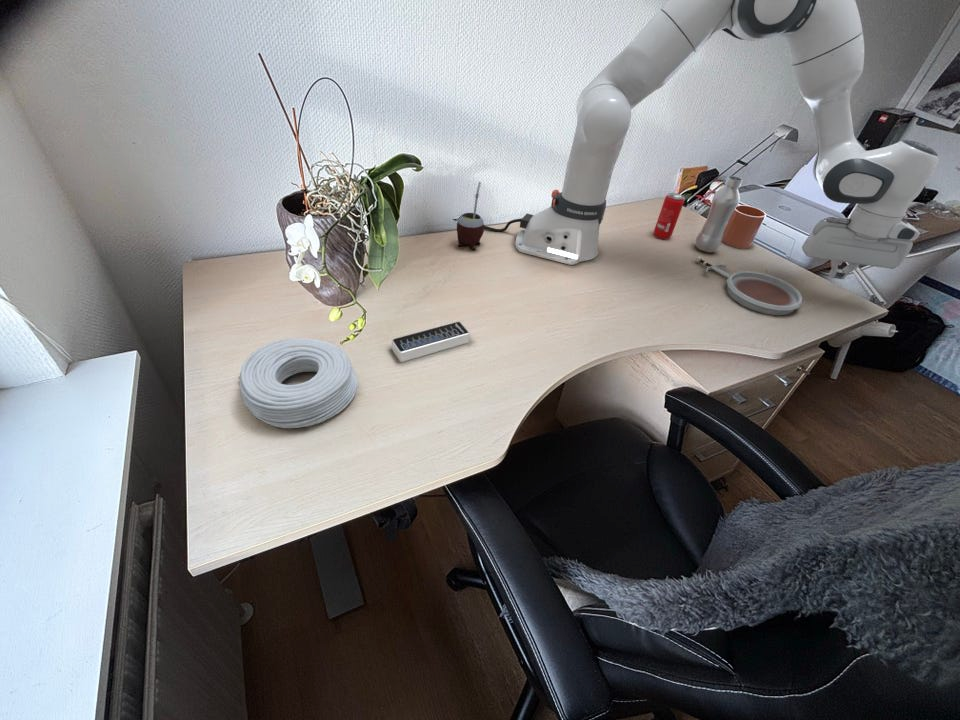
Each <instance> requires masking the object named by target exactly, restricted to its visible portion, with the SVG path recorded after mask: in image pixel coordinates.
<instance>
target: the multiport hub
mask: <svg viewBox="0 0 960 720" xmlns="http://www.w3.org/2000/svg"><path fill="white" fill-rule="evenodd" d="M469 343H470V331H469V330H468V329H467V328H466V326H465V325H464V324H463V323H462V322H461V321H455V322H450V323H448V324H447V323H446V324H444V325H443V324H442V325H440V326H436V327H432V328H428V329H425V330H421V331H418V332H414V333H410V334H407V335H403V336H399V337H395V338H392V339H391V350H392V353H394V355H395V356H396V358H397V360H398V361H399V362H400V363H404V362H407V361H411V360H414V359H418V358H421V357H425V356H427V355H431V354H434V353H438V352H441V351H442V352H443V351H444V350H449V349H451V348H455V347H459V346H462V345H465V344H469Z"/></svg>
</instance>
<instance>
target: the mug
mask: <svg viewBox="0 0 960 720" xmlns="http://www.w3.org/2000/svg"><path fill="white" fill-rule="evenodd" d="M766 217H767V213H766V212H765V211H764V210H762V209H760V208H758V207H755V206H752V205H746V204H738V205H737V207H736V208H735V210H734V211H733V213H732V215H731V217H730V219H729V221H728V223H727V225H726V227H725V230H724V233H723V236H722V241H721V243H723V244H726V246H729V247H732V248H736V249H743V250H745V249H749V248H751V247H752V245H753V244H754V241H755V239H756V238H757V235H758V233H759V231H760V229H761V227H762V225H763V223H764V221H765V219H766Z"/></svg>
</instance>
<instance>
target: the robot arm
mask: <svg viewBox="0 0 960 720" xmlns="http://www.w3.org/2000/svg"><path fill="white" fill-rule="evenodd" d="M720 31H723V32H724V33H727V34H728V35H730V36H731V37H733V38H735V39H738V40H741V41H748V42H756V41H757V42H758V41H761V40H765V39H771V38H775V37H778V36H779V37H781V38H782V39H783V40H784V42H785V43H786V47H787V48H788V52H789V60H790V64H791V68H792V74H793V76H794V80H795V83H796V85H797V88H798V90H799V92H800V94H801V97H802V98H803V99H804V101H805V102H806V103H807V104H808V106H809V108H810V110H811V112H812V116H813V121H814V127H815V133H816V138H817V147H818V148H817V152H816V156H815V159H814V162H813V167H812V175H813V178H814V180H815V181H816V183H818V185H819V187H820V189H821V190H822V192H823V194H824V195H825V197H826V198H827V199H829V200H830V201H832V202H835V203H840V204H853V205H854V207H853V209H852V210H851V211H850V214H849V215H848V217H847V218H843V217H835V216H827V217H825V218H822V219H820V220H818V221H817V223H816V224H815V225H814V228H813V229H812V231H811V233H809V235H808V237H807V238H806V239H805V241H804V242H803V244H802V245H801V250H802V252H803V254H804V255H805V256H806V257H808V258H812V259H813V258H814V259H822V260H828V261H830V268H831V269H830V270H829V272H828V273H827V274H828V277H829V278H830V279H837V280H845V279H846V277H847V275H848V274H850V273H852V272H853V271H855V270H857V269H858V268H859V266H860V265H863V266H869V267H876V268H883V269H889V270H893V269H896V268H898V267H899V266H900V265H902V264H903V262H904V261H905V260H906V258H907V257H908V255H909V254H910V252H911V250H912V248H913V246H914V245H913V244H914V243H913V242H914V241H916V240H917V239H918V238H919V237H920V234H921V232H920V231H919V230H918V229H917V228H916V227H914V225H912V224H911V223H909V222H908V221H907V220H905V219H904V217H905V215H906V214H907V211H908V208H909V206H910V205H911V203H912V202H913V201H914V200H915V199H916V198H917V197H919V195H920V194H921V192H922V191H923V189H924V188H925V186H926V185H927V183H928V182H929V180H930V178H931V177H932V175H933V173H934V171H935V169H936V167H937V166H938V163H939V154H938V153H937V152H936V151H935V150H934V149H933V148H931V147H929V146H927V145H925V144H924V143H923V144H922V143H921V142H918V141H916V140H915V141H914V140H910V139H902V140H899V141H897V142H896V143H893V144H890V145H887V146H884V147H879V148H876V149H871V150H867V149H866V147H865V146H864V145H863V144H862V142H860V141H859V140H858V139H857V137H856V135H855V133H854V124H853V118H852V109H851V93H852V90H853V88H854V86H855V84H856V83H857V82H858V81H859V79H860V77H861V76H862V74H863V71H864V64H865V39H864V32H863V25H862V20H861V16H860V11H859V8H858V5H857V2H856V0H667V1H666V2H665V3H664V4H663V5H662V6H661V7H660V8H659V10H658V11H657V12H656V13H655V14H654V15H653V16H652V18H651V19H650V20H649V21H648V22H647V23H646V24H645V25H644V26H643V28H642V29H641V30H640V31H639V32H638V33H637V34H636V35H635V36H634V38H633V39H632V40H631V41H630V42H629V43H628V44H627V46H626V47H625V48H624V49H622V50H621V52H619V53H618V54H617V55H616V56H615V57H614V58H613V59H612V60H611V61H610V62H608V64H607V65H606V66H605V67H603V69H602V70H600V71H599V73H598V74H597V75H595V77H594V78H593V79H592V80H591V81H590V82H589V83H588V84H587V85H586V86H585V87H584V88H583V89H582V90H581V92H580V94H579V96H578V98H577V101H576V106H575V107H576V108H575V109H576V112H575V113H576V125H575V132H574V135H573V140H572V145H571V148H570V152H569V156H568V160H567V162H566V169H565V173H564V179H563V182H562V183H563V184H562V190H561V192H560V190H559V189H553V190H552V191H551V195H550V196H551V198H552V199H551V203H550V204H551V205H550V206H549V207H547V208H545V209H543V210H541V211H538V212H537V213H535V214H531V213H525V214H524V216H523V217H521V218H514V219H511V220H509V221H508V222H507V223H506V224H505V226H504V227H503V228H494V227H491V226H487V225H484V230H487V231H492V232H495V233H496V232H497V233H503V232H505V231H507V230H508V229H509V227H510V225H511V224H512V225H513V224H514V223H519V228H521V230H520V231H518V232H517V235H516V237H515V242H514V246H515V248H516V250H517V251H518V252H520V253H521V254H526V255H529V256H530V255H531V256H533V257H538V258H542V259H546V260H548V261H549V260H550V261H554V262H557V263H562V264H565V265H570V266H574V265H577V264H578V263H581V262H587V261H591V260H593V259H595V258H597V257H598V255H599V234H600V228H601V227H600V226H601V224H602V221H603V220H604V216H605V212H606V208H607V195H608V191H609V188H610V185H611V184H610V183H611V180H612V175H613V172H614V168H615V166H616V164H617V160H618V158H619V157H620V156H619V155H620V153H621V151H622V148H623V145H624V142H625V140H626V136H627V133H628V131H629V128H630V125H631V120H632V110H633V109H634V108H635V107H636V106H638V105H639V104H640V103H641V102H642V101H643V100H645V99H646V98H647V97H649V96H650V95H651V94H653V93H654V92H655V91H657V90H660V88H662V87H663V86H665V84H666V83H668V82H669V80H670V79H672V77H674V76H675V74H677V72H678V71H680V69H681V68H682V67H683V66H684V65H685V64H686V63H687V62H688V61H689V60H691V58H692V57H693V56H694V55H695V54H696V53H697V52H698V51H699V50H700V48H702V47H703V45H705V43H706V42H708V40H709V39H711V38H712V37H713V36H714V35H716V34H717V33H719V32H720ZM843 263H847V265H846V266H845V267H843V268H841V269H840V268H839V266H842V264H843Z"/></svg>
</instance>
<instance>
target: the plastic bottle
mask: <svg viewBox="0 0 960 720" xmlns="http://www.w3.org/2000/svg"><path fill="white" fill-rule="evenodd" d="M742 183H743V178H741V177H739V176H737V175H728V176H727V178H726V179H725V181H724V186H722V187H721V188H719V189H718V190H717V191H716V192H715V193H714V194H713V196H712V199H711V204H710V208H709V211H708V215H707V217H706V220H705V222H704V224H703V226H702V228H701V230H700V231H699V232H698V234H697V235H696V238H695V247H696V248H697V249H698V250H700V251H702V252H705V253H714V252H716V251H717V250H719V248H720V247H721V246H722V245H721V244H722V236H723V233H724V230H725V227H726V225H727V223H728V221H729V219H730V217H731V215H732V213H733V211H734V210H735V208H736V207H737V205H739V203H740V199H741V197H740V192H739V189H740V188H741V185H742Z"/></svg>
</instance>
